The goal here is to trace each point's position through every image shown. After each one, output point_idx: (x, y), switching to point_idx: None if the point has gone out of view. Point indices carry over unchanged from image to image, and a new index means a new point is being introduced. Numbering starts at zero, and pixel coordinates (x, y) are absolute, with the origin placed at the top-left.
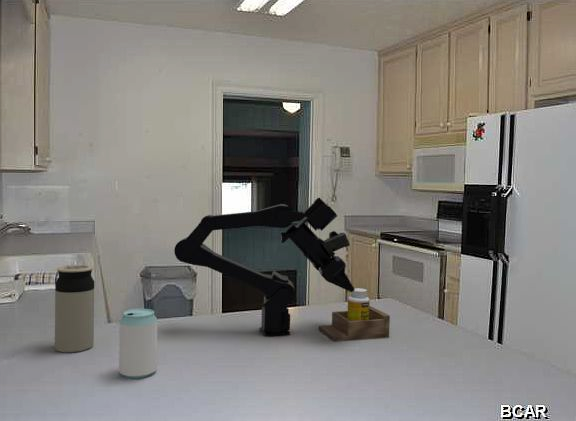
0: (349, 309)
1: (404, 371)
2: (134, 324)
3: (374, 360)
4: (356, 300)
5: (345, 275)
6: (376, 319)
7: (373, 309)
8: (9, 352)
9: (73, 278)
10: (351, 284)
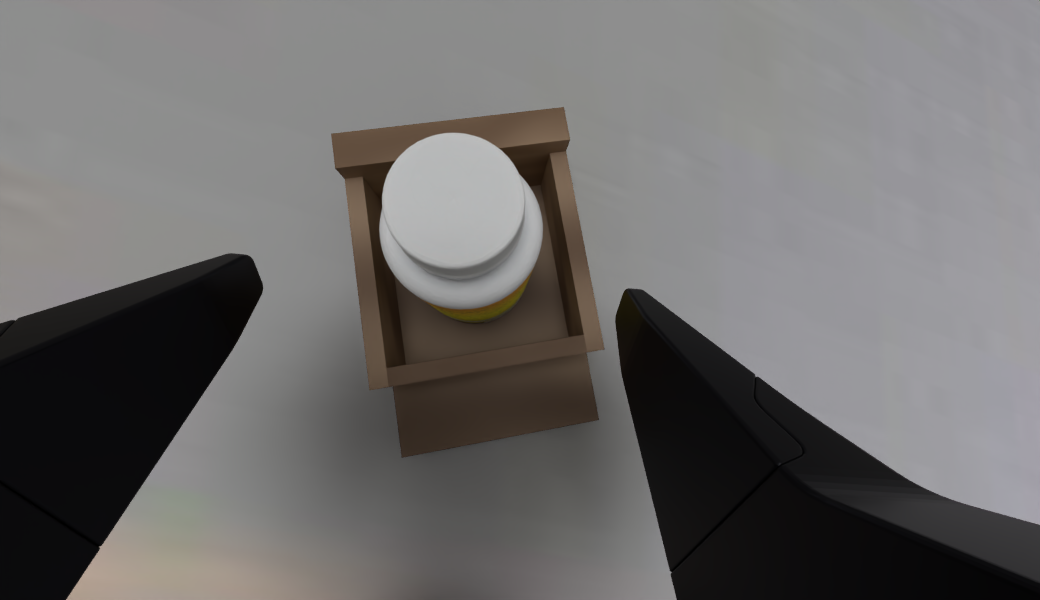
0: (487, 312)
1: (909, 257)
2: None
3: (813, 320)
4: (532, 265)
5: (848, 452)
6: (555, 186)
7: None
8: None
9: None
10: (689, 326)
